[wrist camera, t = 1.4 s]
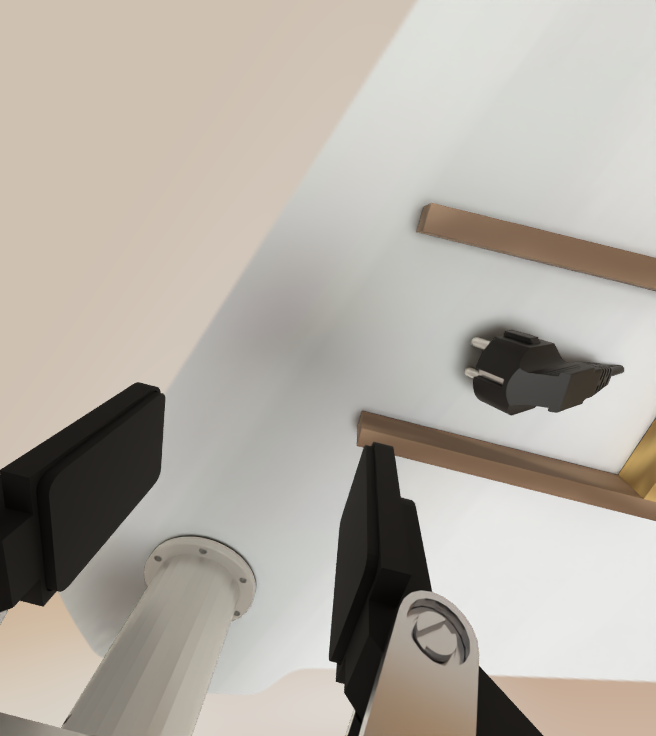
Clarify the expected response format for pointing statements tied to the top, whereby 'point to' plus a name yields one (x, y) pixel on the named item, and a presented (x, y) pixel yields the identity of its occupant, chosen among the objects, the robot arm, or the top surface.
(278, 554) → the top surface
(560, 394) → the power plug
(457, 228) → the brown wooden u-shaped frame
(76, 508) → the robot arm
